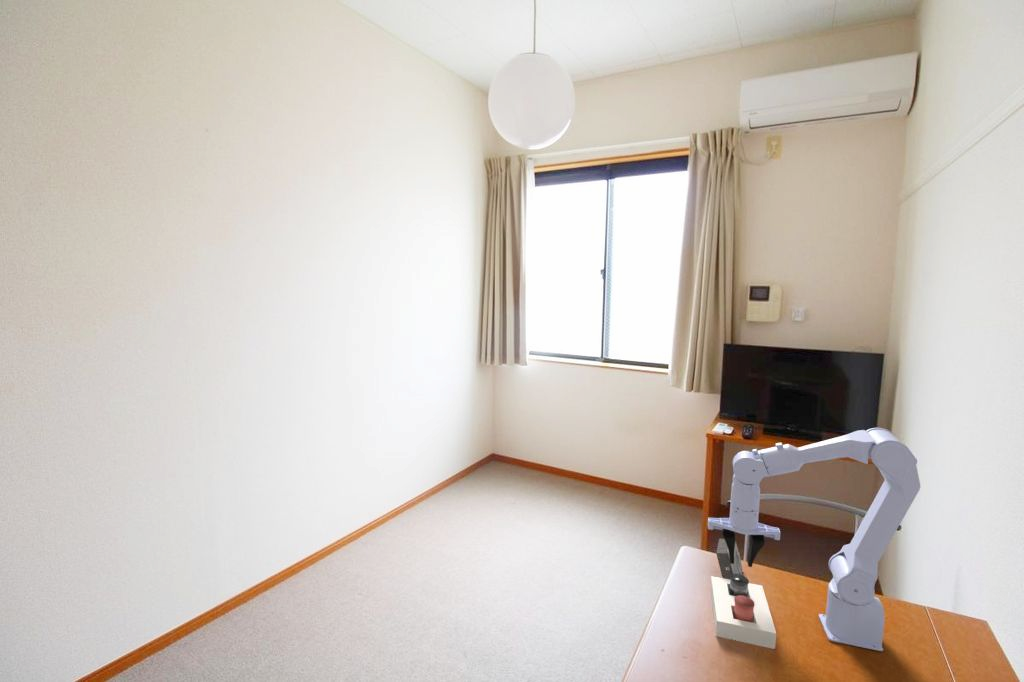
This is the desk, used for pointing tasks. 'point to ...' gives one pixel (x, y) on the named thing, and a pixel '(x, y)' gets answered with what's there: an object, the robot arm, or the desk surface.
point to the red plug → (743, 608)
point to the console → (739, 630)
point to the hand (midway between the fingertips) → (740, 562)
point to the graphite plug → (738, 585)
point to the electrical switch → (728, 560)
